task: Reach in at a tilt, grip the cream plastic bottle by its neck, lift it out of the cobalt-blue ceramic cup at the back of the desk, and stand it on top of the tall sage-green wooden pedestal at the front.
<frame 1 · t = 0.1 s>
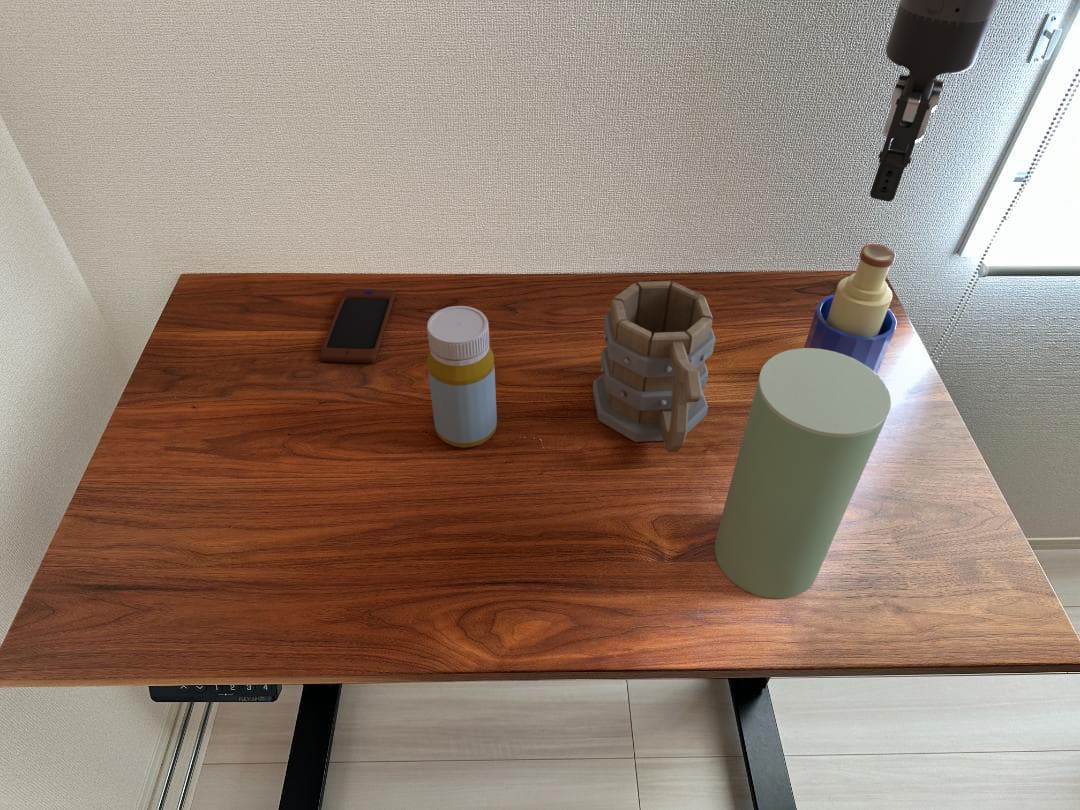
hand: (887, 179, 77), 26 cm above the table, tool pointing down, fingers open, 8 cm apart
bottle: (466, 429, 88), on the table
blue cup: (837, 367, 96), on the table
cream bottle: (839, 363, 96), point 1 cm above the table, touching blue cup
tankard: (653, 426, 89), on the table
green stand: (824, 388, 60), on the table
smartphone: (359, 327, 101), on the table
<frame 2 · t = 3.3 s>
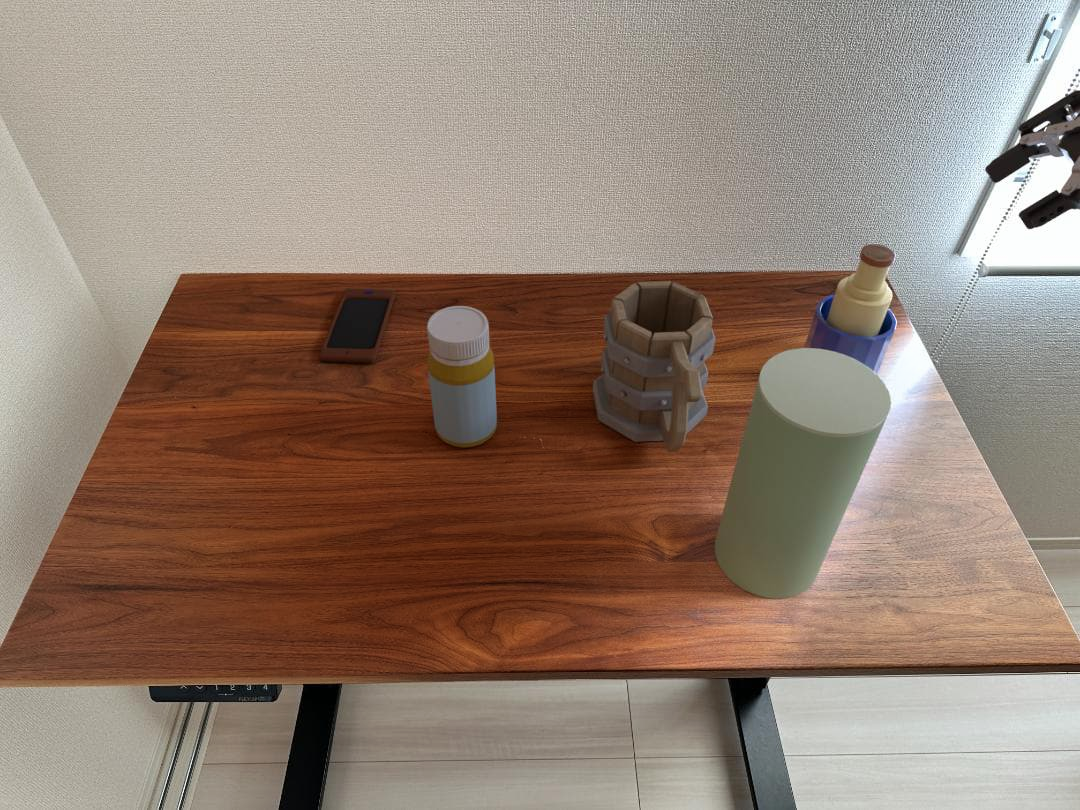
hand: (1005, 198, 79), 24 cm above the table, tool tilted 45°, fingers open, 8 cm apart
nothing on the table moved.
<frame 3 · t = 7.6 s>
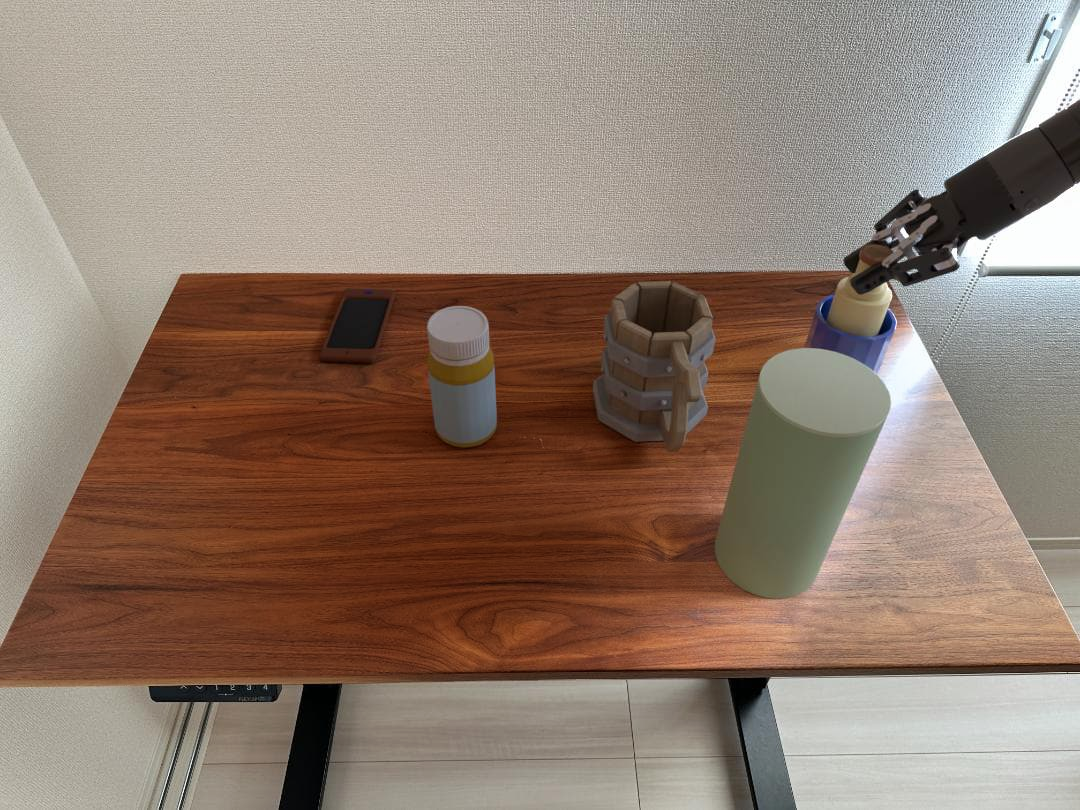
hand: (851, 277, 87), 13 cm above the table, tool tilted 45°, fingers closed on cream bottle, 3 cm apart
cream bottle: (839, 363, 96), point 1 cm above the table, touching blue cup, gripper
everything else where it was.
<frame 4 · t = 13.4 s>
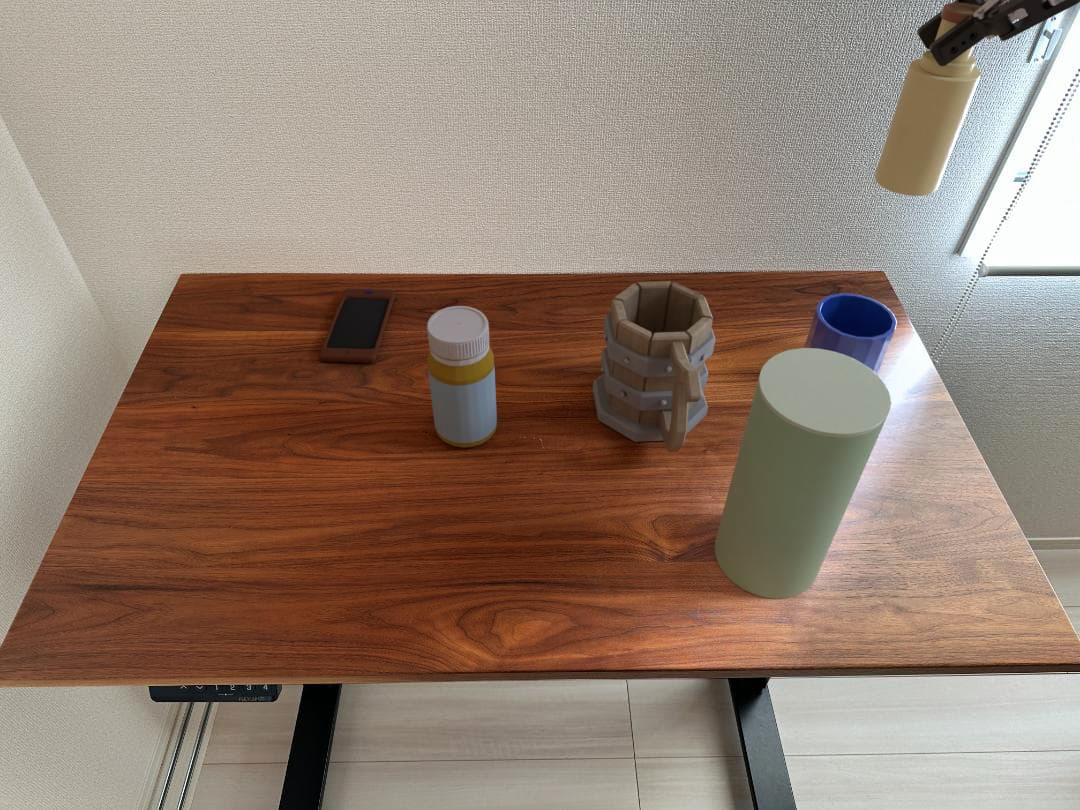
hand: (929, 48, 69), 39 cm above the table, tool tilted 45°, fingers closed on cream bottle, 3 cm apart
cream bottle: (905, 181, 77), point 26 cm above the table, touching gripper
everything else where it was.
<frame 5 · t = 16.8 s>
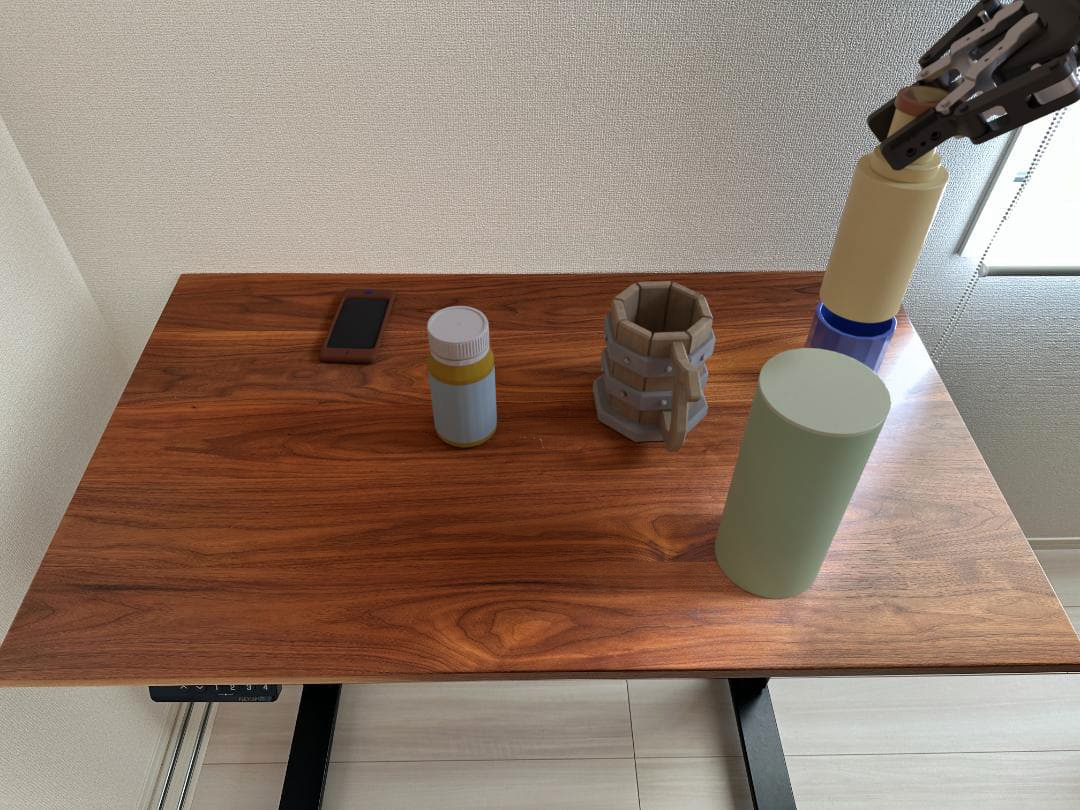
hand: (880, 144, 52), 40 cm above the table, tool tilted 45°, fingers closed on cream bottle, 3 cm apart
cream bottle: (858, 300, 61), point 27 cm above the table, touching gripper
everything else where it was.
when the fingers open (35 cm above the table, at t = 19.4 s): cream bottle stays where it is, resting on green stand.
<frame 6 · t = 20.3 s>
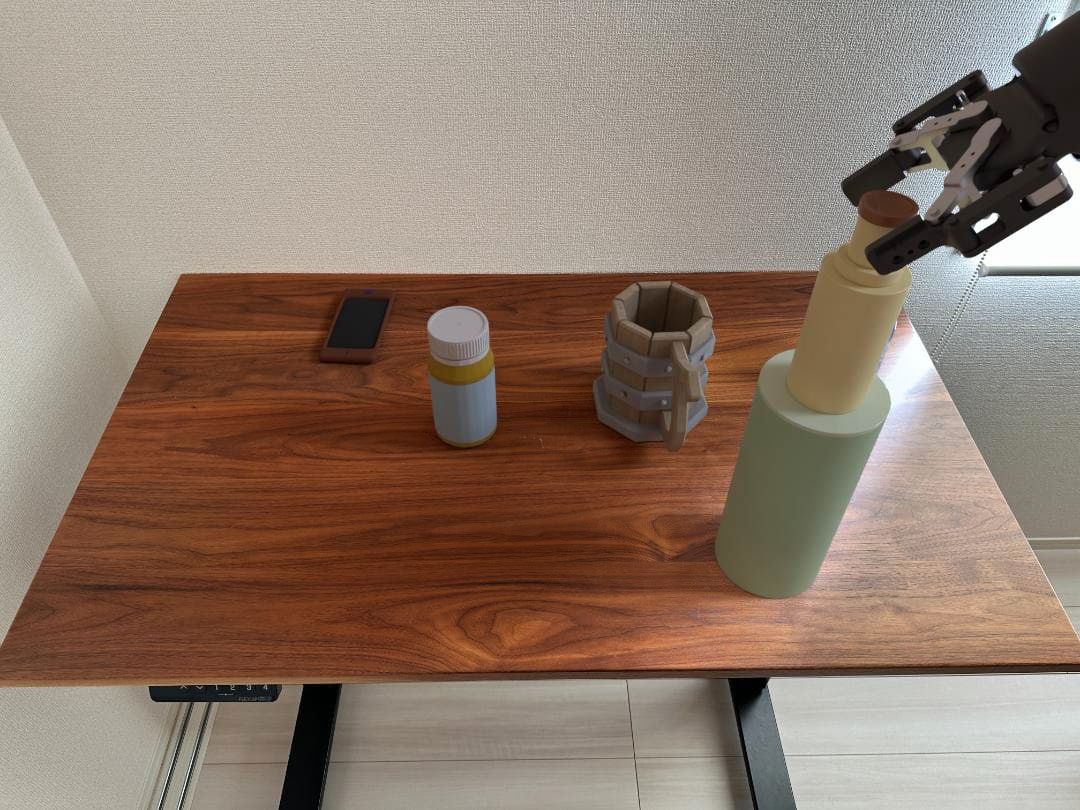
hand: (858, 228, 51), 36 cm above the table, tool tilted 45°, fingers open, 8 cm apart
cream bottle: (825, 388, 60), point 22 cm above the table, touching green stand
everything else where it was.
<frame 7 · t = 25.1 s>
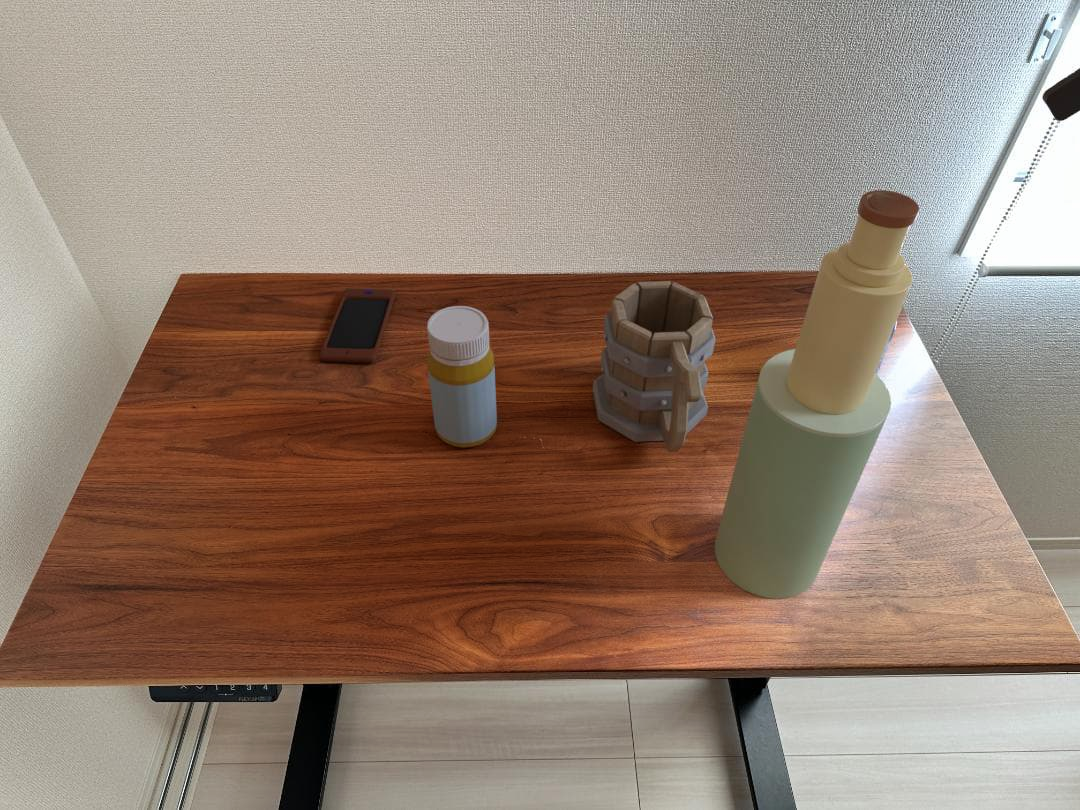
hand: (1075, 138, 46), 43 cm above the table, tool tilted 45°, fingers open, 8 cm apart
nothing on the table moved.
at the end: cream bottle 0.1 cm off-centre on the green stand, point 0.0 cm above the green stand's base; cream bottle tilted 0°; the gripper is holding nothing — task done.
